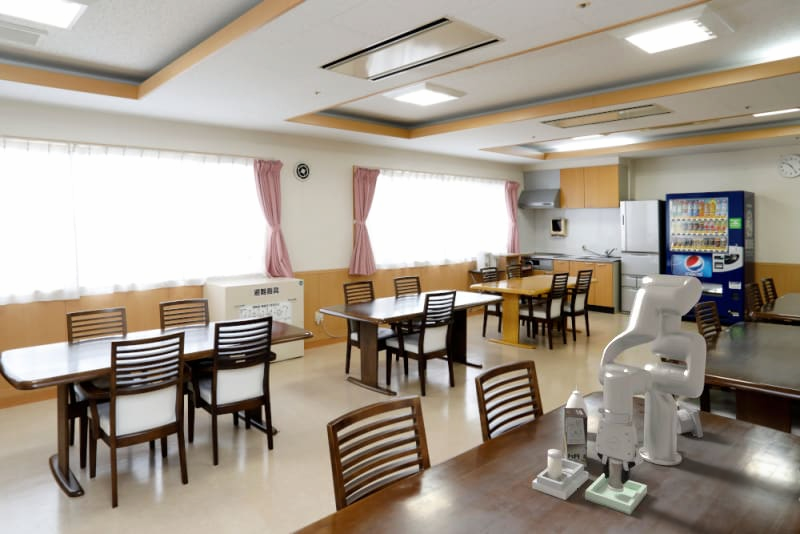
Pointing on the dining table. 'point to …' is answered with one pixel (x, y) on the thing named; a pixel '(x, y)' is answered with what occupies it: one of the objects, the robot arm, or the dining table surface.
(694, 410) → the voltmeter
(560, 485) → the fuse block
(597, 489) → the parts tray
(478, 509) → the dining table surface
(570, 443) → the coffee box
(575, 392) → the sauce bottle
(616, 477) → the cylinder
